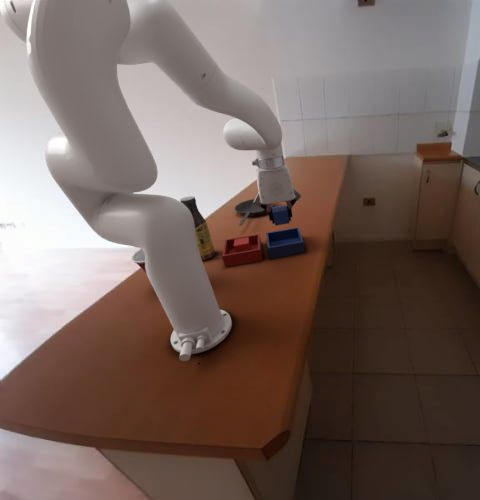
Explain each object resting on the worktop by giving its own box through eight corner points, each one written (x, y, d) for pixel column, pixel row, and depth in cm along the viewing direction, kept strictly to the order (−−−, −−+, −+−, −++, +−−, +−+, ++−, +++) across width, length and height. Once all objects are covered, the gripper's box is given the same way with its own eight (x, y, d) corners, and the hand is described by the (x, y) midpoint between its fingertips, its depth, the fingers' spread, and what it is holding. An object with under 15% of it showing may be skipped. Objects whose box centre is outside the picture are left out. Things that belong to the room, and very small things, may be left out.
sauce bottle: (209, 261, 88) (188, 202, 78) (191, 260, 90) (169, 202, 80) (220, 251, 94) (202, 195, 84) (203, 250, 95) (184, 194, 85)
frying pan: (278, 202, 132) (277, 194, 130) (266, 232, 104) (264, 223, 102) (241, 204, 132) (239, 197, 130) (219, 235, 104) (216, 226, 103)
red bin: (262, 260, 87) (260, 249, 85) (225, 267, 85) (222, 256, 83) (261, 244, 96) (259, 233, 94) (228, 249, 94) (225, 239, 92)
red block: (251, 255, 89) (248, 243, 87) (237, 258, 88) (233, 245, 86) (251, 248, 93) (248, 236, 91) (237, 251, 92) (234, 239, 90)
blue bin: (305, 252, 90) (303, 241, 88) (270, 259, 87) (267, 248, 85) (299, 237, 99) (298, 227, 97) (268, 242, 97) (266, 232, 95)
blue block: (289, 223, 87) (287, 210, 85) (275, 225, 86) (272, 212, 84) (287, 217, 91) (285, 205, 89) (274, 220, 90) (271, 207, 88)
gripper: (240, 169, 74) (254, 230, 84) (302, 161, 78) (309, 221, 87) (241, 163, 81) (254, 220, 90) (298, 156, 84) (305, 212, 93)
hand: (281, 220), depth 88 cm, fingers closed on blue block, 4 cm apart
